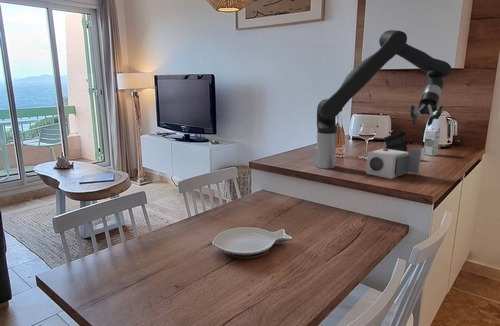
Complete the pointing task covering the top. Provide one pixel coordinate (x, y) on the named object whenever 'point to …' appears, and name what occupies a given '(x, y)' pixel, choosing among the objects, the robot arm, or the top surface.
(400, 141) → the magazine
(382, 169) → the knobbed white box
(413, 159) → the side door
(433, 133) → the syrup box
